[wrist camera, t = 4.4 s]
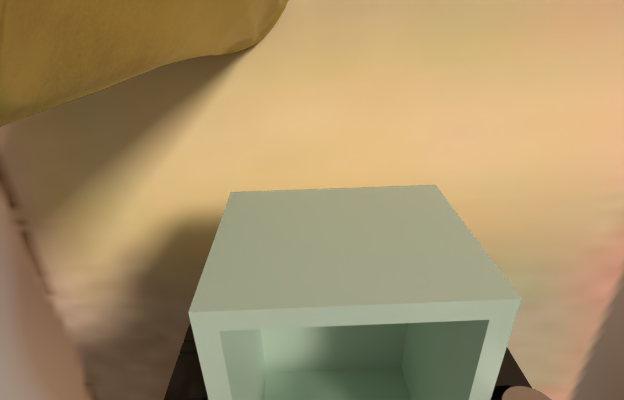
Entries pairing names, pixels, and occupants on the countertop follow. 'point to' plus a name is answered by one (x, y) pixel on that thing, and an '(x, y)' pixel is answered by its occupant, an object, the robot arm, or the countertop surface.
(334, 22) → the countertop surface
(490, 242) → the countertop surface
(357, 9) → the countertop surface
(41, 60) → the vase
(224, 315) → the crate small
